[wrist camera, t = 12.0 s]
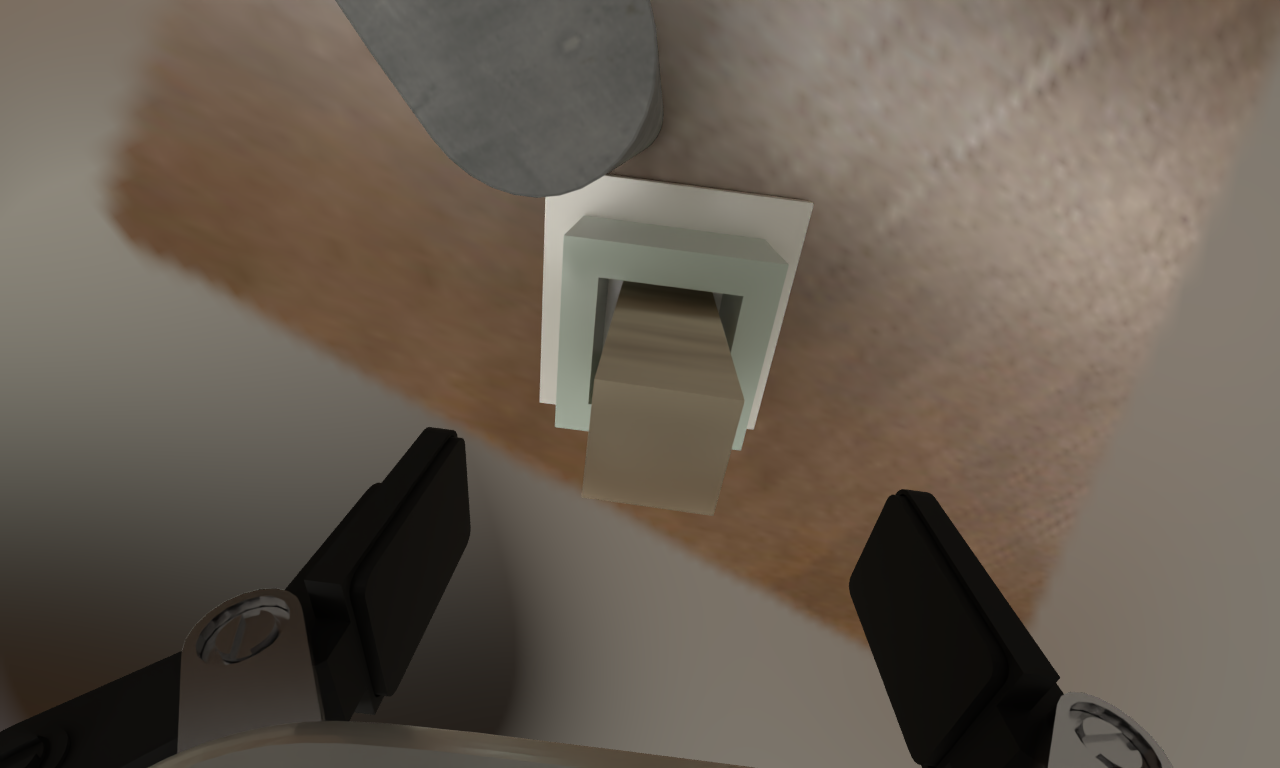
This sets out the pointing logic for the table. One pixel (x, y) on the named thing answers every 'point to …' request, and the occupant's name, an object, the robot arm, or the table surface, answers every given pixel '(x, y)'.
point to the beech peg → (663, 402)
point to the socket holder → (663, 275)
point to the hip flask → (523, 83)
